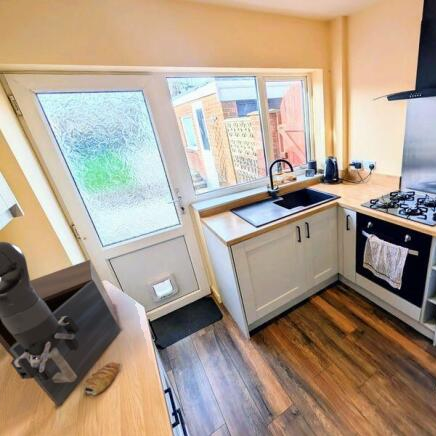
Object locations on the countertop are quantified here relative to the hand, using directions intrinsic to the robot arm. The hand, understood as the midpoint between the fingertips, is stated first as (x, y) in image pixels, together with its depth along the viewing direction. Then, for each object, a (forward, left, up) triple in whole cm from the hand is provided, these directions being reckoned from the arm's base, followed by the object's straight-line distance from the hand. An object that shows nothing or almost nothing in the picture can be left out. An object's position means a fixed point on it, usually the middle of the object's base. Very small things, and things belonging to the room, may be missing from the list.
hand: (62, 363), depth 67 cm
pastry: (+5, 0, -15) cm, 16 cm away
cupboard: (+14, +29, -15) cm, 36 cm away
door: (+9, +7, -15) cm, 19 cm away
